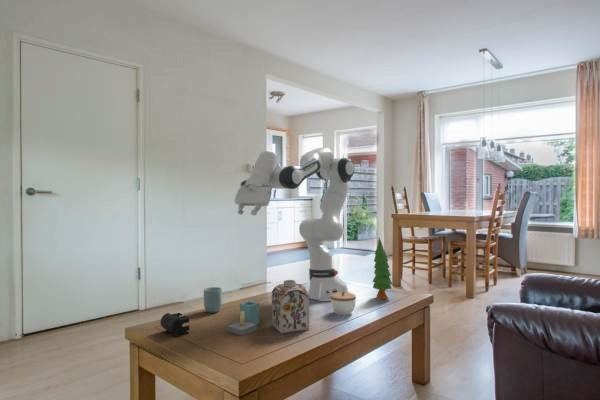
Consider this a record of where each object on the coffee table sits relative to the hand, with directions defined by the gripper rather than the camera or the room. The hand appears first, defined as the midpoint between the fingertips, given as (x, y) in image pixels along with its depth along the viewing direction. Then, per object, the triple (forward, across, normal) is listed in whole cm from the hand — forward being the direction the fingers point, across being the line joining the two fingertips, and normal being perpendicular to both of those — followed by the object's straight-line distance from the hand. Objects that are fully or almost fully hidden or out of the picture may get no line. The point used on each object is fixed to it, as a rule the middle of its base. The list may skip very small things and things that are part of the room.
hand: (246, 214), depth 167 cm
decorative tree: (+10, -24, -77) cm, 81 cm away
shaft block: (+44, -13, -8) cm, 46 cm away
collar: (+41, -8, -15) cm, 44 cm away
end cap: (+53, +3, +8) cm, 53 cm away
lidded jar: (+25, -26, -47) cm, 59 cm away
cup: (+42, +17, -14) cm, 47 cm away
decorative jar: (+37, -24, -22) cm, 49 cm away
